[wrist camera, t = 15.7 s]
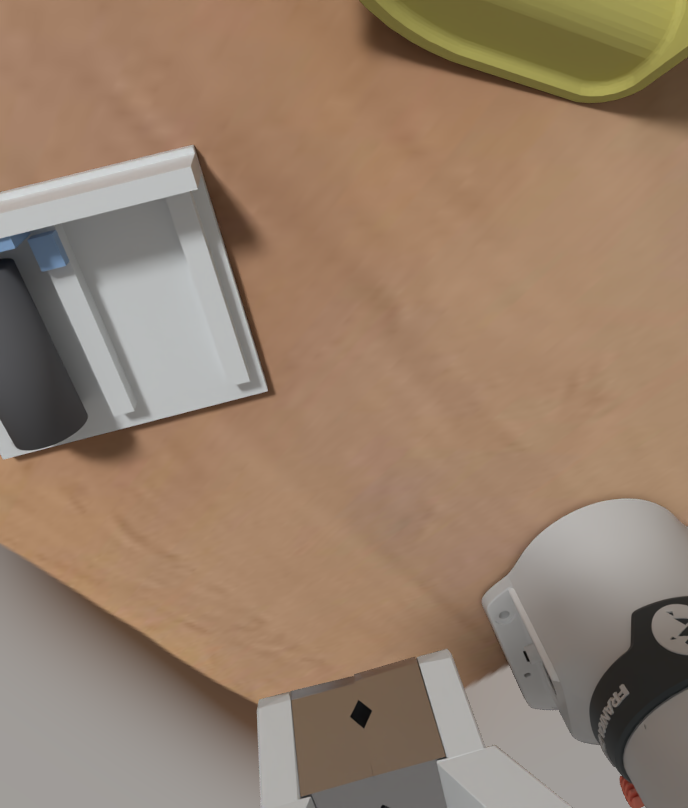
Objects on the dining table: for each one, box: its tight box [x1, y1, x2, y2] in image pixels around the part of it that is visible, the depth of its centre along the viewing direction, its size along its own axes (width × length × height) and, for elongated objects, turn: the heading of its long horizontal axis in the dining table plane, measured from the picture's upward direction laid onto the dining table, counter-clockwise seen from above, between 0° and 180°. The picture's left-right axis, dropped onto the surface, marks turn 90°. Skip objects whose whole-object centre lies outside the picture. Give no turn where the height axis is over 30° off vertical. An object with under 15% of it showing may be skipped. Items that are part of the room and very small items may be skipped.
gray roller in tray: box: [0, 258, 88, 451], centre depth 34 cm, size 9×4×4 cm, turn 12°
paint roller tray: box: [0, 145, 268, 459], centre depth 34 cm, size 14×16×5 cm
